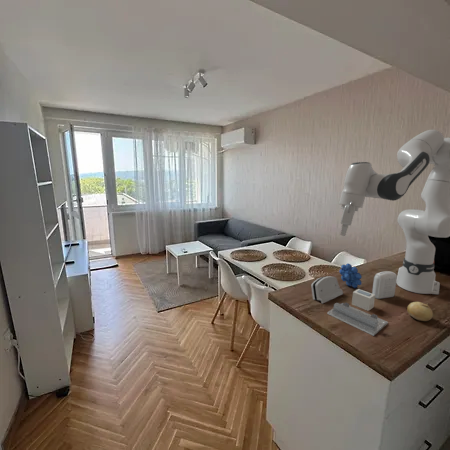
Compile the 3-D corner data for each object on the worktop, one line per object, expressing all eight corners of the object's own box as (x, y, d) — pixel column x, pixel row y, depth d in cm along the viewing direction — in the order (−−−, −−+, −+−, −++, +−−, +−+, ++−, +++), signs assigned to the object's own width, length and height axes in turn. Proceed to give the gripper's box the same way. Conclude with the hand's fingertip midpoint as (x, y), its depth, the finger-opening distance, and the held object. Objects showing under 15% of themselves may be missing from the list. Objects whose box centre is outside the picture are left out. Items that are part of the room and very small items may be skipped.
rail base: (342, 304, 109) (342, 296, 108) (387, 323, 94) (388, 314, 94) (327, 313, 102) (327, 305, 101) (373, 336, 87) (374, 326, 87)
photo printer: (388, 292, 118) (391, 268, 116) (395, 297, 114) (399, 272, 112) (370, 295, 116) (372, 271, 113) (377, 299, 112) (380, 274, 109)
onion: (410, 321, 95) (413, 305, 94) (403, 311, 103) (405, 295, 101) (435, 325, 93) (438, 308, 91) (426, 314, 100) (428, 298, 99)
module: (357, 300, 112) (358, 288, 110) (373, 307, 106) (375, 294, 105) (351, 304, 109) (353, 291, 107) (368, 311, 103) (369, 297, 102)
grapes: (333, 284, 128) (335, 262, 125) (341, 281, 132) (343, 260, 129) (355, 293, 118) (358, 269, 116) (363, 289, 122) (365, 266, 120)
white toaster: (322, 303, 109) (316, 281, 110) (313, 302, 113) (308, 281, 114) (343, 293, 118) (338, 273, 119) (335, 293, 122) (330, 273, 123)
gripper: (361, 202, 89) (351, 238, 90) (358, 204, 107) (350, 234, 109) (342, 199, 91) (333, 234, 93) (343, 201, 110) (335, 231, 111)
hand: (342, 234), depth 101 cm, fingers open, 8 cm apart
